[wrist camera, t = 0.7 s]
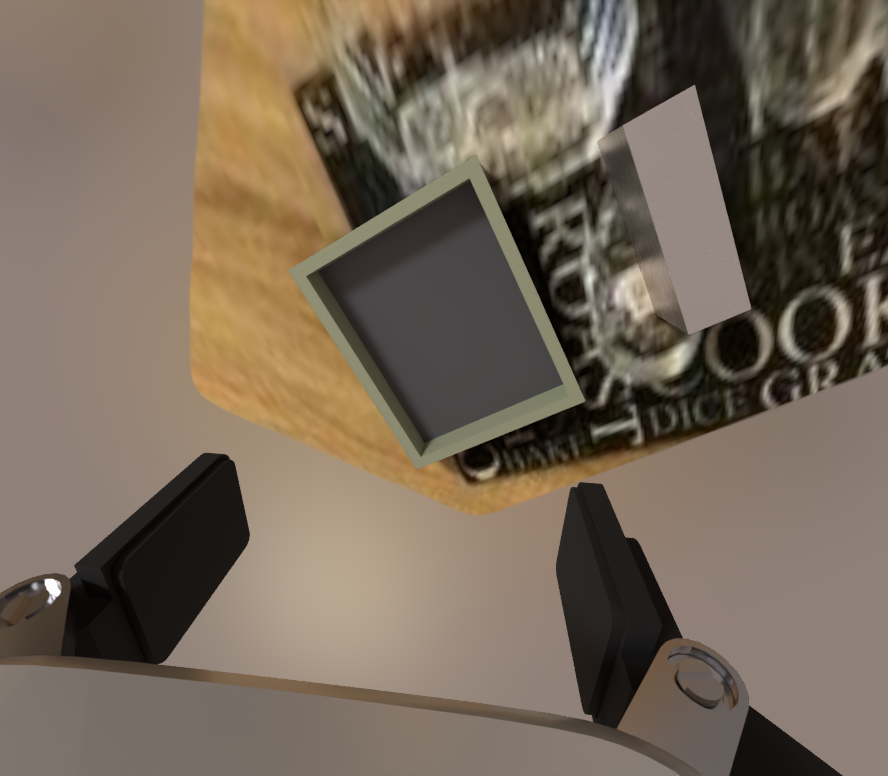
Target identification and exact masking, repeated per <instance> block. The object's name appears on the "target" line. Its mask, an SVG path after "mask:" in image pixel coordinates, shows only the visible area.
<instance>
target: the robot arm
mask: <svg viewBox="0 0 888 776" xmlns="http://www.w3.org/2000/svg"><path fill="white" fill-rule="evenodd" d="M249 536H250V533H249V528H248V523H247V518H246V514H245V509H244V504H243V500H242V495H241V490H240V486H239V481H238V476H237V472H236V467H235V463H234V462H233V461H232V460H230V458H229V457H228V456H227V455H225V454H215V453H214V454H213V453H204V454H202V455H200V456H199V457H198V458H197V459H196V460H195V461H193V462H192V463H191V464H190V465H189V466H188V467H187V468H186V469H184V470H183V471H182V472H181V473H180V474H179V475H177V476H176V477H175V478H174V479H173V480H172V481H171V482H169V483H168V484H167V485H166V486H165V487H164V488H162V489H161V490H160V491H159V492H158V493H157V494H156V495H154V496H153V497H152V498H151V499H150V500H149V501H148V502H146V503H145V504H144V505H143V506H142V507H141V508H139V510H137V511H136V512H135V513H134V514H133V515H131V516H130V517H129V518H128V519H127V520H126V521H125V522H123V523H122V524H121V525H120V526H119V527H118V528H116V529H115V530H114V531H113V532H112V533H111V534H110V535H108V537H106V538H105V539H104V540H103V541H102V542H101V543H99V544H98V545H97V546H96V547H95V548H94V549H92V550H91V551H90V552H89V553H88V554H87V555H85V556H84V557H83V558H82V559H81V560H80V561H79V562H77V563H76V564H75V565H74V566H75V568H76V570H77V573H76V574H75V575H74V576H72V577H71V578H70V579H69V578H68V577H67V576H66V575H63V574H58V573H52V574H43V575H39V576H36V577H32V578H30V579H27V580H24V581H22V582H20V583H17V584H15V585H13V586H12V587H10V588H8V589H6V590H4V591H3V592H1V593H0V776H842V775H841V774H840V773H838V772H837V771H836V770H834V769H833V768H832V767H830V766H829V765H828V764H826V763H825V762H824V761H823V760H821V759H820V758H819V757H817V756H816V755H814V754H813V753H812V752H810V751H809V750H808V749H807V748H805V747H804V746H803V745H801V744H800V743H799V742H797V741H796V740H795V739H793V738H792V737H790V736H789V735H788V734H787V733H785V732H784V731H783V730H781V729H780V728H779V727H777V726H776V725H775V724H773V723H772V722H771V721H769V720H768V719H766V718H765V717H764V716H762V715H761V714H760V713H759V712H757V711H756V710H754V709H753V708H752V707H751V706H749V695H748V692H747V689H746V686H745V684H744V682H743V680H742V679H741V677H740V675H739V674H738V672H737V671H736V670H735V669H734V668H733V666H731V664H729V662H728V661H727V660H726V659H725V658H723V657H722V656H721V655H720V654H718V653H717V652H716V651H714V650H713V649H711V648H709V647H708V646H706V645H704V644H702V643H700V642H697V641H693V640H690V639H683V637H682V635H681V633H680V631H679V629H678V626H677V625H676V622H675V620H674V618H673V616H672V613H671V611H670V609H669V607H668V605H667V603H666V600H665V598H664V596H663V594H662V592H661V590H660V587H659V585H658V583H657V581H656V579H655V576H654V574H653V572H652V570H651V568H650V566H649V563H648V561H647V559H646V557H645V555H644V553H643V550H642V548H641V546H640V544H639V543H638V541H637V540H636V539H634V538H626V537H625V536H624V534H623V531H622V529H621V526H620V524H619V522H618V519H617V517H616V515H615V512H614V510H613V508H612V505H611V503H610V500H609V498H608V496H607V494H606V491H605V489H604V487H603V485H602V484H596V483H583V482H580V483H579V484H578V487H577V488H576V487H572V488H571V489H570V493H569V498H568V504H567V509H566V514H565V520H564V525H563V530H562V536H561V540H560V546H559V551H558V557H557V563H556V574H557V580H558V585H559V590H560V595H561V600H562V606H563V611H564V616H565V620H566V626H567V631H568V636H569V642H570V647H571V652H572V657H573V662H574V667H575V672H576V678H577V683H578V687H579V693H580V698H581V703H582V708H583V711H584V713H585V714H588V715H592V718H593V722H590V721H587V720H582V719H576V718H571V717H566V716H561V715H556V714H551V713H545V712H537V711H531V710H524V709H517V708H510V707H503V706H496V705H489V704H482V703H475V702H467V701H459V700H451V699H443V698H435V697H427V696H419V695H411V694H403V693H395V692H387V691H379V690H371V689H363V688H355V687H346V686H338V685H330V684H321V683H313V682H305V681H296V680H288V679H279V678H270V677H262V676H253V675H246V674H245V675H244V674H237V673H228V672H219V671H210V670H201V669H192V668H184V667H175V666H166V665H158V664H160V663H162V662H164V661H165V660H166V659H167V658H168V656H169V655H170V654H171V652H172V651H173V650H174V648H175V647H176V645H177V644H178V642H179V641H180V640H181V638H182V637H183V635H184V634H185V633H186V631H187V630H188V628H189V627H190V626H191V624H192V623H193V621H194V620H195V618H196V617H197V615H198V614H199V613H200V611H201V610H202V608H203V607H204V606H205V604H206V603H207V601H208V600H209V598H210V597H211V596H212V594H213V593H214V592H215V590H216V589H217V587H218V586H219V584H220V583H221V582H222V580H223V579H224V577H225V576H226V575H227V573H228V572H229V570H230V569H231V567H232V566H233V565H234V563H235V562H236V560H237V559H238V557H239V556H240V555H241V553H242V552H243V550H244V549H245V548H246V546H247V544H248V541H249Z"/></svg>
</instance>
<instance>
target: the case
mask: <svg viewBox="0 0 888 776" xmlns="http://www.w3.org/2000/svg"><path fill="white" fill-rule="evenodd" d="M288 271H289V273H290V274H291V276H292V277H293V279H294V280H295V282H296V284H297V285H298V287H299V288H300V290H301V291H302V293H303V294H304V296H305V297H306V299H307V301H308V302H309V304H310V305H311V307H312V308H313V310H314V311H315V313H316V314H317V316H318V318H319V319H320V321H321V322H322V324H323V325H324V327H325V328H326V330H327V331H328V333H329V335H330V336H331V338H332V339H333V341H334V342H335V344H336V345H337V347H338V348H339V350H340V352H341V353H342V355H343V356H344V358H345V359H346V361H347V362H348V364H349V365H350V367H351V369H352V370H353V372H354V373H355V375H356V376H357V378H358V379H359V381H360V382H361V384H362V386H363V387H364V389H365V390H366V392H367V393H368V395H369V396H370V398H371V399H372V401H373V403H374V404H375V406H376V407H377V409H378V410H379V412H380V413H381V415H382V416H383V418H384V420H385V421H386V423H387V424H388V426H389V427H390V429H391V430H392V432H393V433H394V435H395V437H396V438H397V440H398V441H399V443H400V444H401V446H402V447H403V449H404V450H405V452H406V454H407V455H408V457H409V458H410V460H411V461H412V463H413V464H414V466H415V467H416V469H419V468H422V467H424V466H427V465H429V464H432V463H434V462H437V461H439V460H441V459H444V458H446V457H449V456H451V455H454V454H456V453H459V452H461V451H464V450H466V449H469V448H471V447H474V446H476V445H479V444H481V443H484V442H486V441H489V440H491V439H493V438H496V437H498V436H501V435H503V434H506V433H508V432H511V431H513V430H516V429H518V428H521V427H523V426H526V425H528V424H531V423H533V422H536V421H538V420H541V419H543V418H546V417H548V416H550V415H553V414H555V413H558V412H560V411H563V410H565V409H568V408H570V407H573V406H575V405H578V404H580V403H583V402H585V399H584V397H583V395H582V392H581V390H580V388H579V386H578V383H577V381H576V379H575V377H574V374H573V372H572V370H571V368H570V365H569V363H568V361H567V359H566V356H565V354H564V352H563V350H562V347H561V345H560V343H559V341H558V338H557V336H556V334H555V332H554V329H553V327H552V325H551V323H550V320H549V318H548V316H547V314H546V311H545V309H544V307H543V305H542V302H541V300H540V298H539V296H538V293H537V291H536V289H535V287H534V284H533V282H532V280H531V278H530V275H529V273H528V271H527V269H526V266H525V264H524V262H523V260H522V257H521V255H520V253H519V251H518V248H517V246H516V244H515V242H514V239H513V237H512V235H511V233H510V230H509V228H508V226H507V224H506V221H505V219H504V217H503V215H502V212H501V210H500V208H499V206H498V203H497V201H496V199H495V197H494V194H493V192H492V190H491V188H490V185H489V183H488V181H487V179H486V176H485V174H484V172H483V170H482V167H481V165H480V163H479V161H478V158H477V156H476V155H475V156H474V157H472V158H471V159H469V160H467V161H466V162H464V163H462V164H461V165H459V166H458V167H456V168H454V169H453V170H451V171H449V172H448V173H446V174H444V175H443V176H441V177H440V178H438V179H436V180H435V181H433V182H431V183H430V184H428V185H427V186H425V187H423V188H422V189H420V190H418V191H417V192H415V193H414V194H412V195H410V196H409V197H407V198H405V199H404V200H402V201H400V202H399V203H397V204H396V205H394V206H392V207H391V208H389V209H387V210H386V211H384V212H383V213H381V214H379V215H378V216H376V217H374V218H373V219H371V220H370V221H368V222H366V223H365V224H363V225H361V226H360V227H358V228H356V229H355V230H353V231H352V232H350V233H348V234H347V235H345V236H343V237H342V238H340V239H339V240H337V241H335V242H334V243H332V244H330V245H329V246H327V247H326V248H324V249H322V250H321V251H319V252H317V253H316V254H314V255H312V256H311V257H309V258H308V259H306V260H304V261H303V262H301V263H299V264H298V265H296V266H295V267H293V268H291V269H290V270H288Z"/></svg>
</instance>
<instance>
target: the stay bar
mask: <svg viewBox="0 0 888 776" xmlns="http://www.w3.org/2000/svg"><path fill="white" fill-rule="evenodd" d="M597 142H598V145H599V148H600V151H601V154H602V157H603V160H604V163H605V166H606V169H607V172H608V175H609V178H610V181H611V184H612V187H613V190H614V193H615V196H616V199H617V201H618V204H619V207H620V210H621V213H622V216H623V219H624V222H625V225H626V228H627V231H628V234H629V237H630V240H631V243H632V246H633V249H634V252H635V255H636V258H637V261H638V264H639V267H640V269H641V272H642V275H643V278H644V281H645V284H646V287H647V290H648V293H649V296H650V299H651V302H652V305H653V308H654V311H655V314H656V315H658V316H659V317H661V318H662V319H664V320H666V321H667V322H669V323H670V324H672V325H674V326H675V327H677V328H678V329H680V330H682V331H683V332H685V333H686V334H688V335H690V334H692V333H695V332H697V331H699V330H702V329H704V328H707V327H709V326H712V325H714V324H716V323H719V322H721V321H724V320H726V319H729V318H731V317H733V316H736V315H738V314H741V313H743V312H746V311H748V310H750V309H751V306H750V302H749V298H748V294H747V290H746V286H745V282H744V278H743V274H742V270H741V266H740V262H739V258H738V254H737V251H736V247H735V243H734V239H733V235H732V231H731V227H730V223H729V219H728V215H727V211H726V207H725V203H724V199H723V195H722V191H721V187H720V183H719V179H718V175H717V171H716V167H715V164H714V160H713V156H712V152H711V148H710V144H709V140H708V136H707V132H706V128H705V124H704V120H703V116H702V112H701V108H700V104H699V100H698V96H697V92H696V88H695V85H694V86H692V87H690V88H688V89H687V90H685V91H683V92H681V93H680V94H678V95H676V96H674V97H672V98H671V99H669V100H667V101H665V102H664V103H662V104H660V105H658V106H657V107H655V108H653V109H651V110H649V111H648V112H646V113H644V114H642V115H641V116H639V117H637V118H635V119H634V120H632V121H630V122H628V123H626V124H625V125H623V126H621V127H620V128H618V129H616V130H615V131H613V132H611V133H610V134H608V135H606V136H605V137H603V138H601V139H600V140H598V141H597Z"/></svg>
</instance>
